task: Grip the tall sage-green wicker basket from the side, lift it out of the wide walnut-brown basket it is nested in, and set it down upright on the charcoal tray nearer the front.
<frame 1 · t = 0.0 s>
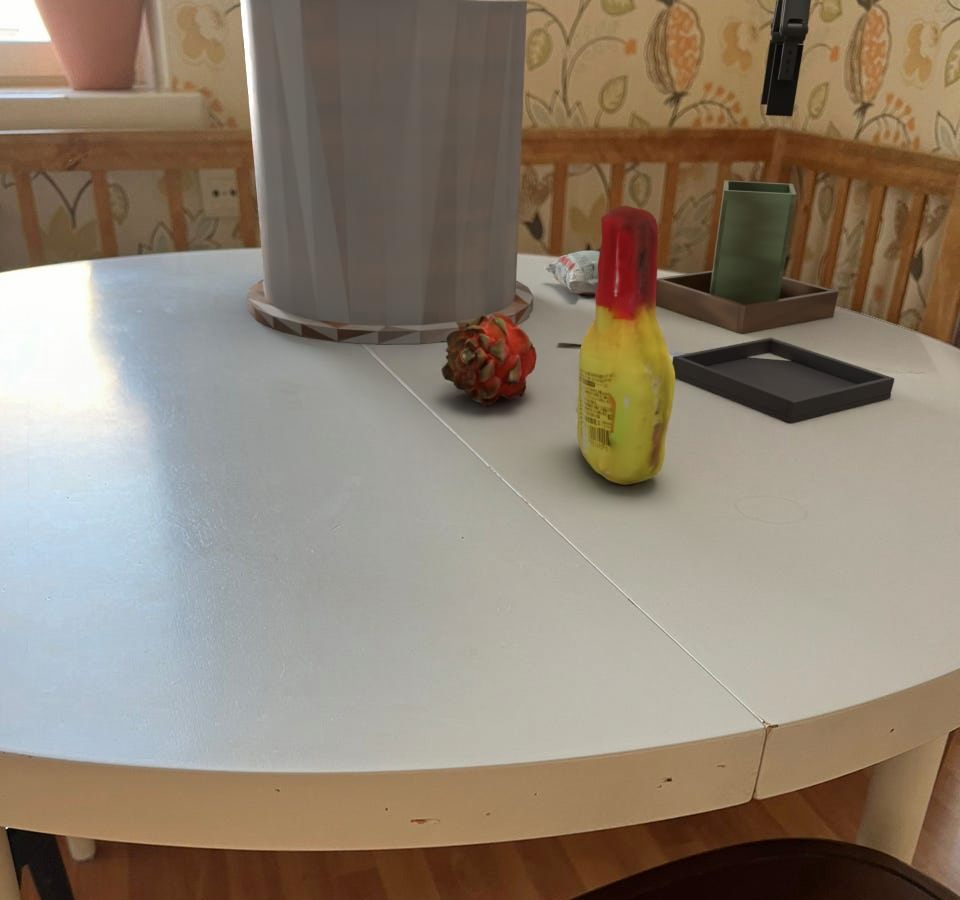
hand: (775, 110, 115), 23 cm above the table, tool pointing down, fingers open, 13 cm apart
tall basket: (740, 310, 128), point 1 cm above the table, touching wide basket
packaged food: (585, 294, 137), on the table
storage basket: (391, 305, 130), on the table
dragon fruit: (488, 398, 101), on the table
bottle: (613, 469, 86), on the table
tray: (777, 386, 105), on the table
wide basket: (740, 315, 129), on the table
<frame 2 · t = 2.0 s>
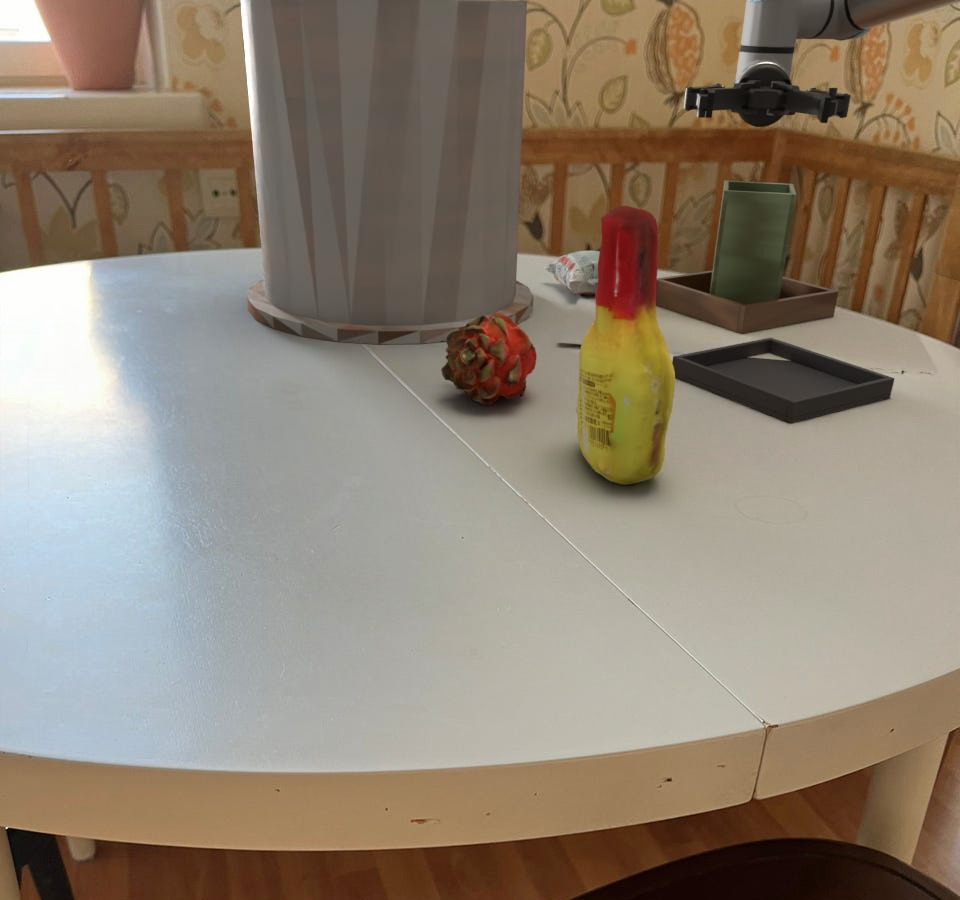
hand: (767, 107, 125), 22 cm above the table, tool horizontal, fingers open, 13 cm apart
nothing on the table moved.
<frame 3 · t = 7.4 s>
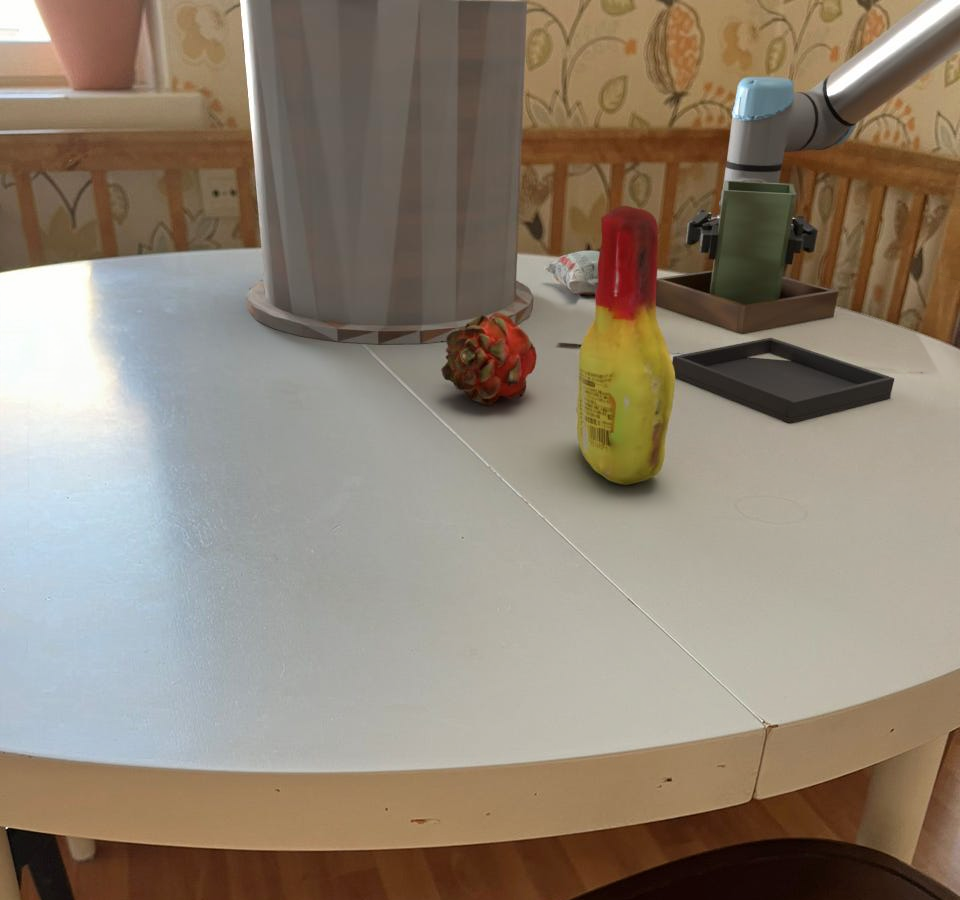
hand: (751, 249, 120), 9 cm above the table, tool horizontal, fingers closed on tall basket, 8 cm apart
tall basket: (740, 310, 128), point 1 cm above the table, touching gripper, wide basket
everything else where it was.
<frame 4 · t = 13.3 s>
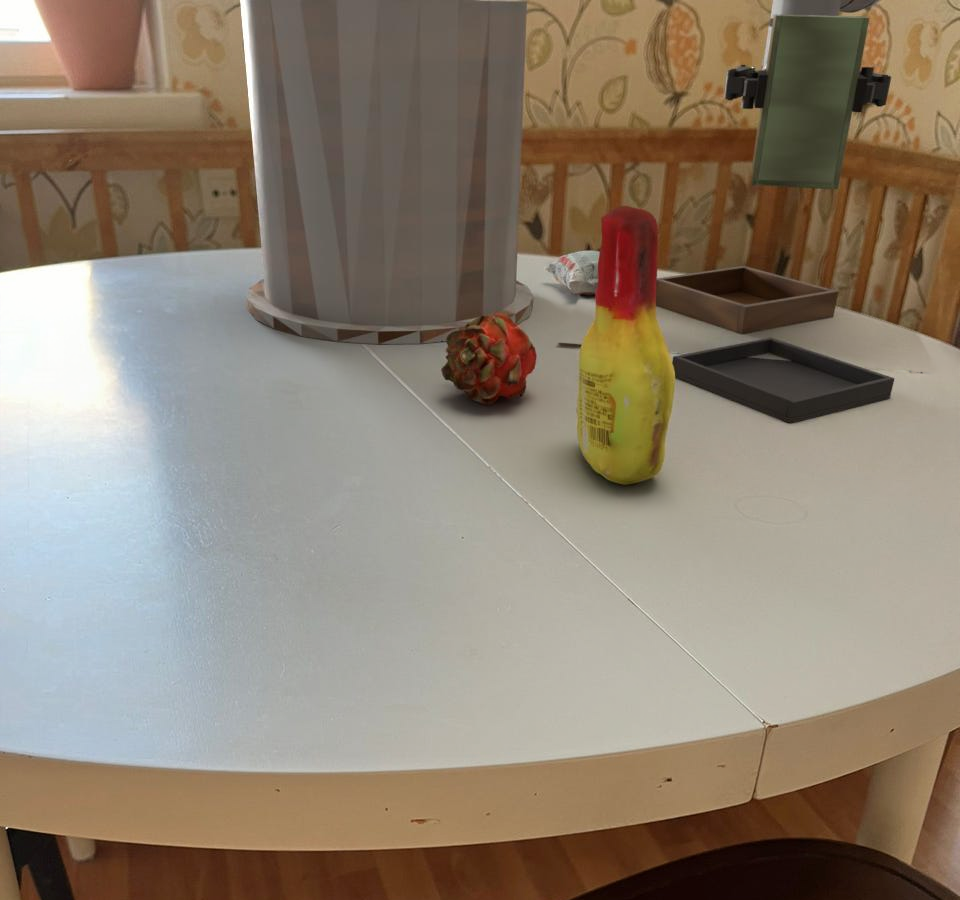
hand: (810, 93, 95), 26 cm above the table, tool horizontal, fingers closed on tall basket, 8 cm apart
tall basket: (792, 181, 103), point 18 cm above the table, touching gripper
everything else where it was.
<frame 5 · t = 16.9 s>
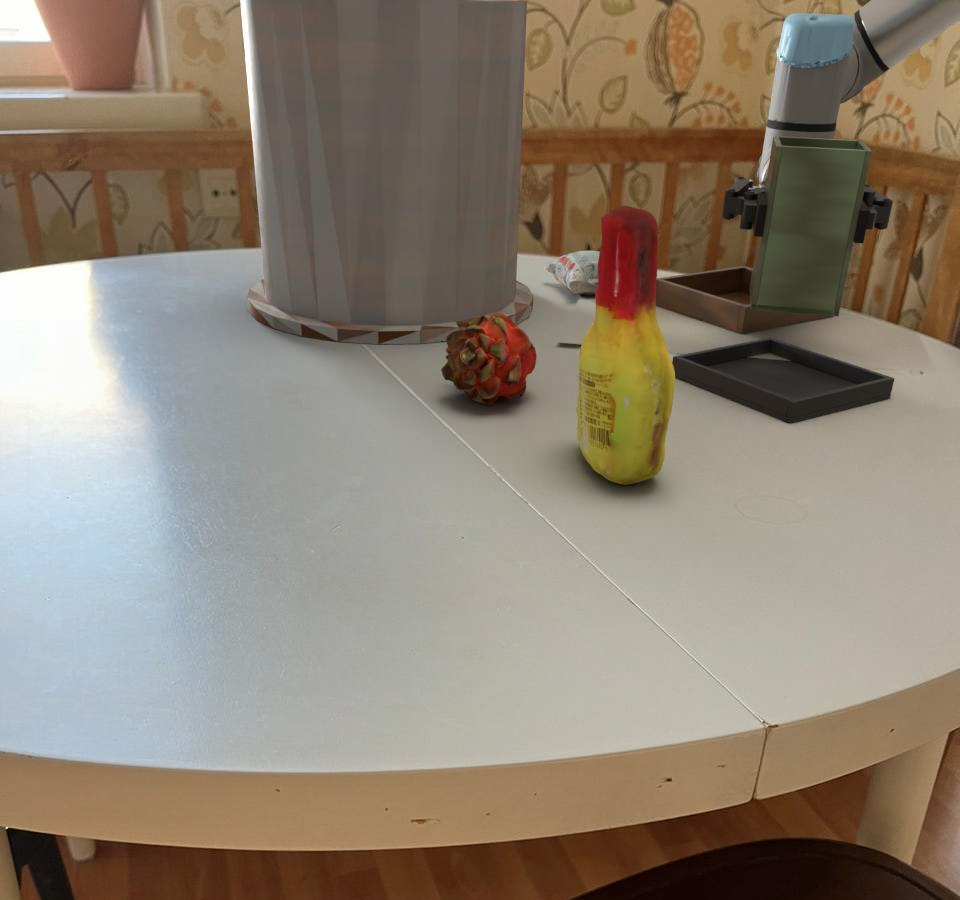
hand: (811, 223, 92), 16 cm above the table, tool horizontal, fingers closed on tall basket, 8 cm apart
tall basket: (792, 302, 101), point 8 cm above the table, touching gripper
everything else where it was.
when the fingers open (8 cm above the table, at t = 19.5 s): tall basket stays where it is, resting on tray.
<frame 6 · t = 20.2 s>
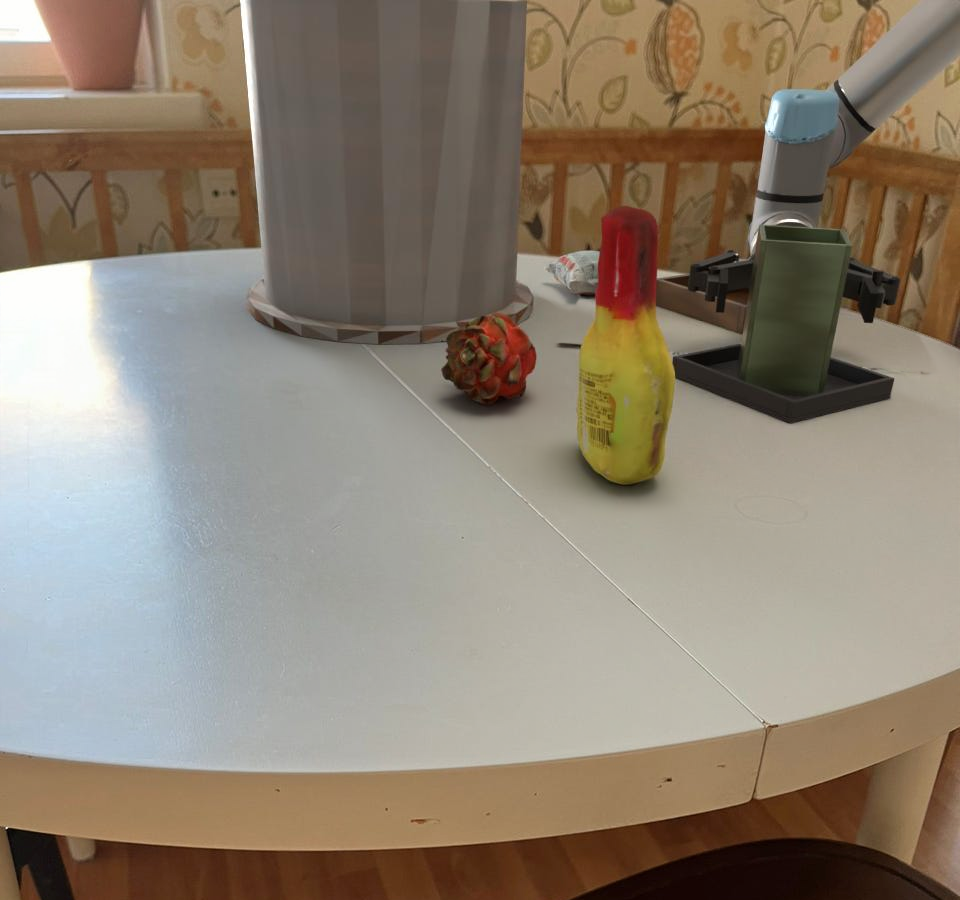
hand: (796, 303, 97), 9 cm above the table, tool horizontal, fingers open, 13 cm apart
tall basket: (778, 381, 105), resting on tray
everything else where it was.
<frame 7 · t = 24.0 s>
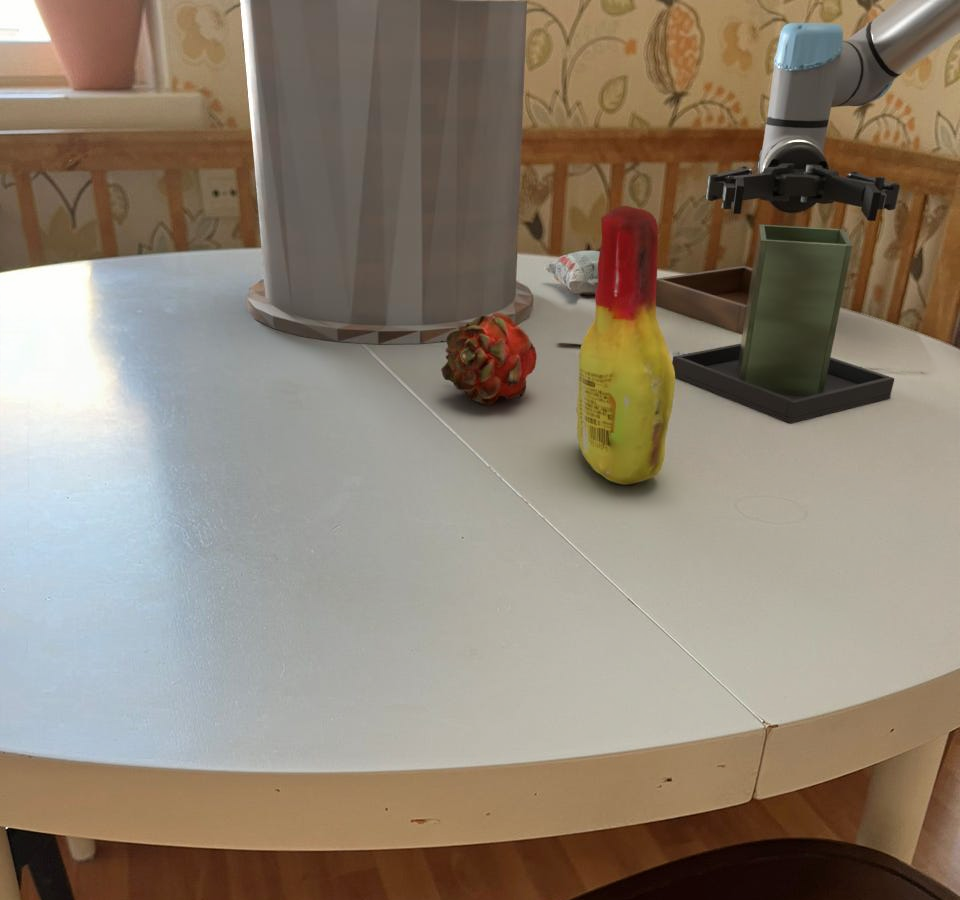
hand: (805, 203, 108), 15 cm above the table, tool horizontal, fingers open, 13 cm apart
nothing on the table moved.
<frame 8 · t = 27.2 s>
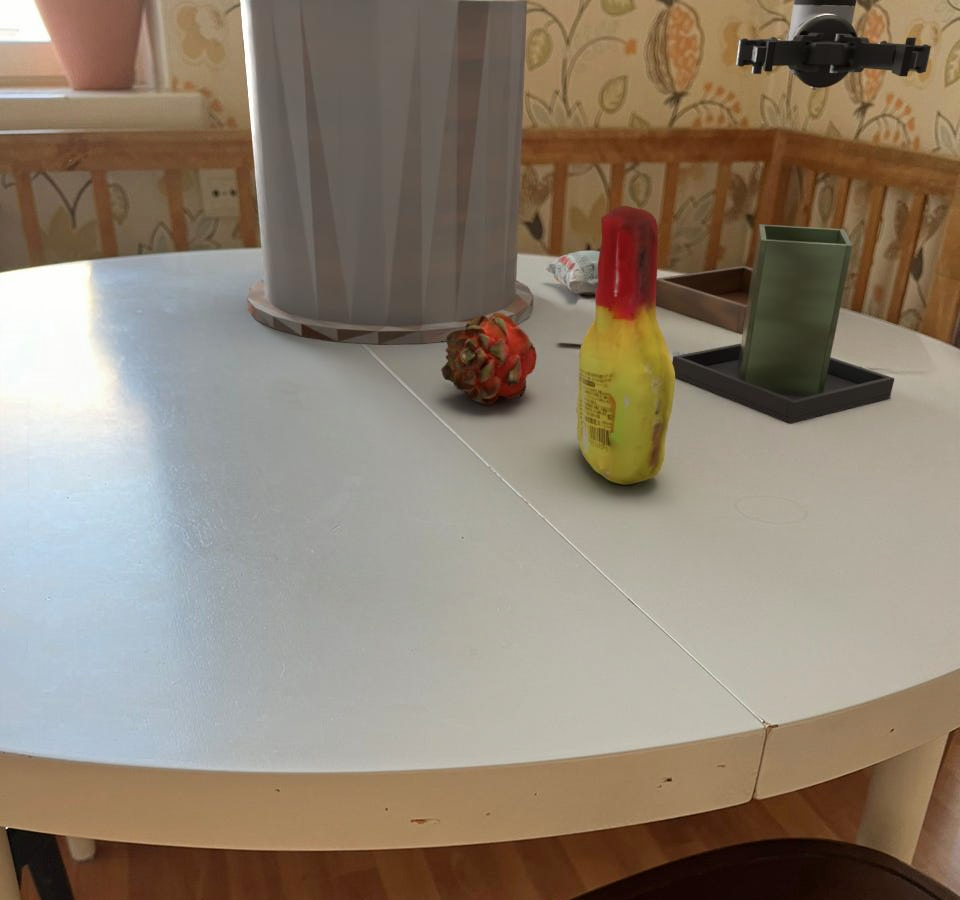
hand: (837, 59, 108), 28 cm above the table, tool horizontal, fingers open, 13 cm apart
nothing on the table moved.
at the end: tall basket inside the target area in the tray (0.0 cm from its centre), point 0.5 cm above the tray's base; tall basket tilted 0°; tall basket touching tray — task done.
